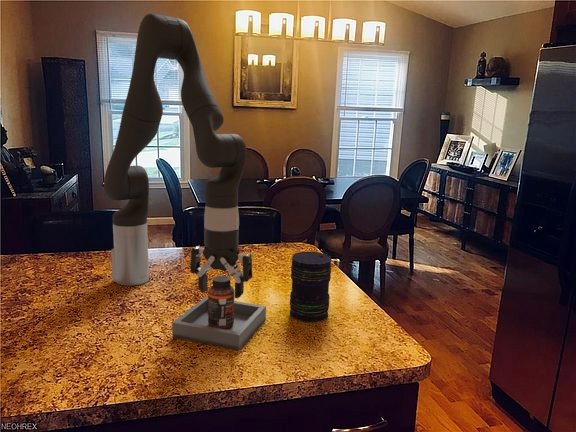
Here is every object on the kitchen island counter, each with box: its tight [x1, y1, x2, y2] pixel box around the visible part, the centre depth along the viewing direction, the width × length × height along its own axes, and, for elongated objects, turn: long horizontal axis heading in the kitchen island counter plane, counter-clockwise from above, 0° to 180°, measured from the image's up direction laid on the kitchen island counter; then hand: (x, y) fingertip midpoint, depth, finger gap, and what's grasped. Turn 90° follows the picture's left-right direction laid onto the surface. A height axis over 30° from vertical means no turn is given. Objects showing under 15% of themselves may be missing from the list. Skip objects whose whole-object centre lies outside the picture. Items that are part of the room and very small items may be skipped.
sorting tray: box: [171, 295, 267, 351], centre depth 108 cm, size 16×16×4 cm
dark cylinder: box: [289, 251, 332, 324], centre depth 116 cm, size 10×10×15 cm
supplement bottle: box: [207, 275, 235, 329], centre depth 107 cm, size 6×6×11 cm
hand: (220, 294), depth 107 cm, fingers open, 8 cm apart
